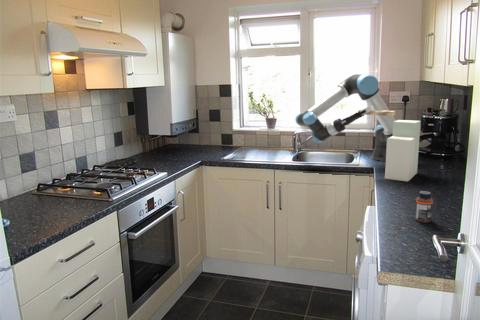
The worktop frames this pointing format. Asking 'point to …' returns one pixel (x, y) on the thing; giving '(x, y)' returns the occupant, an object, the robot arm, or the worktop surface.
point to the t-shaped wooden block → (380, 113)
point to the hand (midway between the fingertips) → (372, 107)
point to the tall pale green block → (402, 150)
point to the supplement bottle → (424, 207)
